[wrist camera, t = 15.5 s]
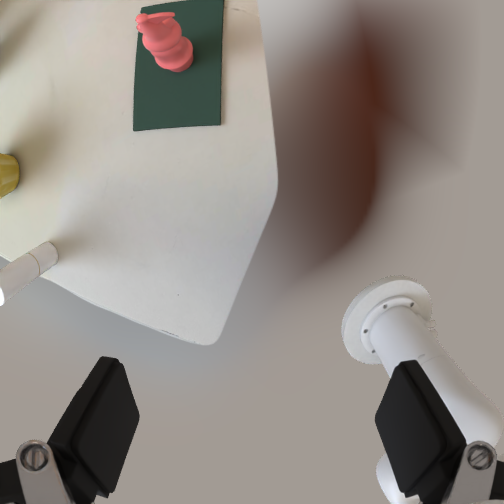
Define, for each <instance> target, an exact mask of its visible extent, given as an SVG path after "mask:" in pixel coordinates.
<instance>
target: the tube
mask: <svg viewBox="0 0 504 504" xmlns="http://www.w3.org/2000/svg"><path fill="white" fill-rule="evenodd" d="M57 261H58V253H57V250H56V248H55V247H54V246H53V245H52V244H51V243H49V242H45V243H43V244H41V245H39V246H38V247H36V248H34V249H32V250H31V251H29V252H27V253H26V254H24V255H22V256H21V257H19V258H18V259H16V260H14V261H13V262H11V263H10V264H8V265H6V266H5V267H3V268H2V269H0V306H1V305H3V304H4V303H5V302H7V301H8V300H9V299H10V298H11V297H13V296H14V295H15V294H16V293H18V292H19V291H20V290H22V289H23V288H24V287H25V286H27V285H28V284H29V283H31V282H32V281H33V280H34V279H36V278H37V277H39V276H40V275H41V274H43V273H44V272H45V271H47V270H48V269H49V268H51V267H52V266H54V265H55V264H56V263H57Z"/></svg>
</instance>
